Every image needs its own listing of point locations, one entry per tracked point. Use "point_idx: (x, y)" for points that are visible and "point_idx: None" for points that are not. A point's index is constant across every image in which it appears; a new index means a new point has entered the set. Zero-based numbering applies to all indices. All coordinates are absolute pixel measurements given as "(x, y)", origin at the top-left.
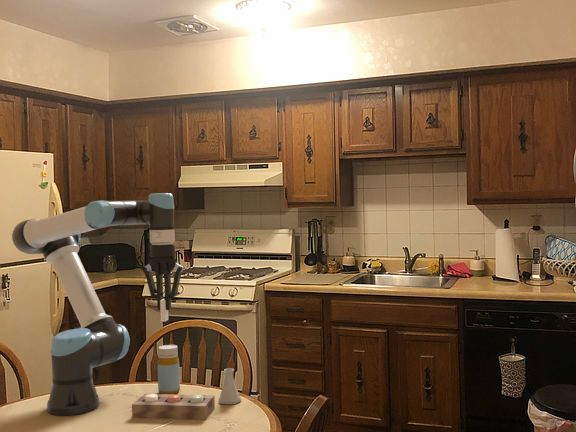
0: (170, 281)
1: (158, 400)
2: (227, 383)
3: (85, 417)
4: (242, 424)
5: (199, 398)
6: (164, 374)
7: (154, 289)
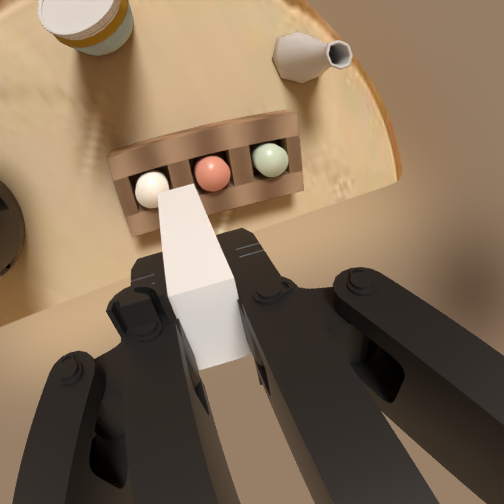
0: (422, 491)
1: None
2: (322, 68)
3: (45, 255)
4: (359, 181)
5: (284, 170)
6: (97, 49)
7: (76, 457)
